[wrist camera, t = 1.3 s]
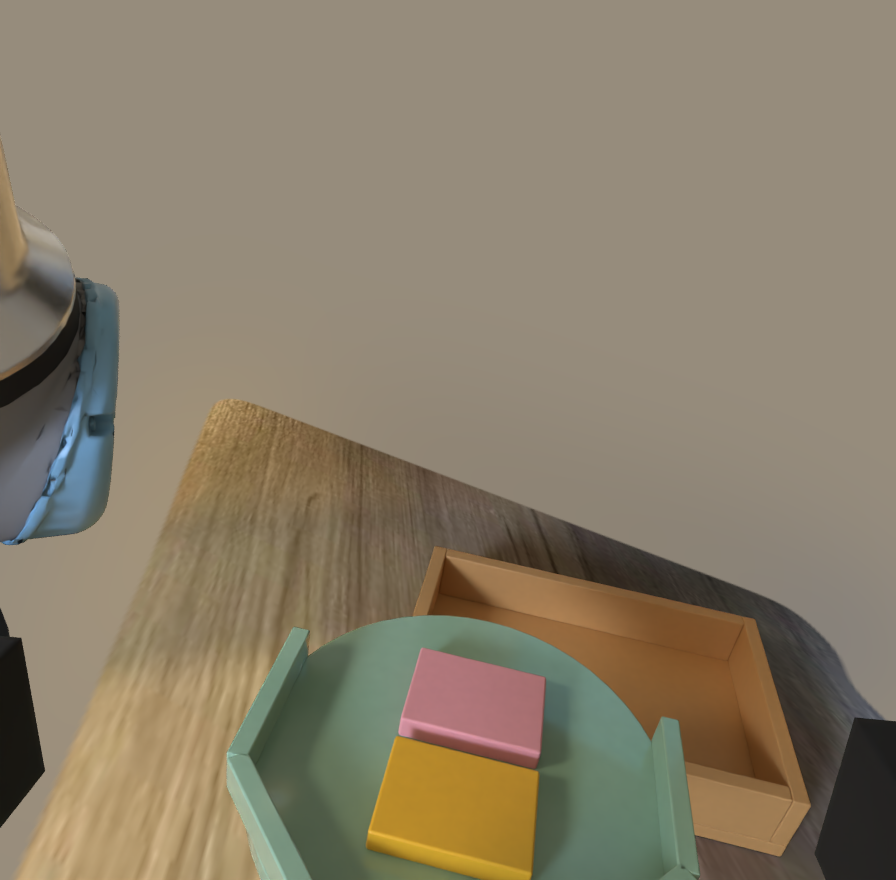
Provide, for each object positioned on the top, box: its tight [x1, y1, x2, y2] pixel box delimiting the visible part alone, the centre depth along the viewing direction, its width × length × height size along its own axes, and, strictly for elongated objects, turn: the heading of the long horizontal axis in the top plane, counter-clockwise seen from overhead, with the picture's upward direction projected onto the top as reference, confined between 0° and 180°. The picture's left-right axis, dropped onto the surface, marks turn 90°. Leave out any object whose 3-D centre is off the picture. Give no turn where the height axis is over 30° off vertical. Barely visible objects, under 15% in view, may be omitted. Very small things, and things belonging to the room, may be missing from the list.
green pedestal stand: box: [227, 615, 700, 880], centre depth 25 cm, size 13×13×13 cm
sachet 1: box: [398, 648, 546, 769], centre depth 24 cm, size 4×3×1 cm
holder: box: [413, 546, 811, 857], centre depth 40 cm, size 20×13×4 cm, turn 80°
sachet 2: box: [366, 736, 540, 880], centre depth 21 cm, size 4×3×1 cm
